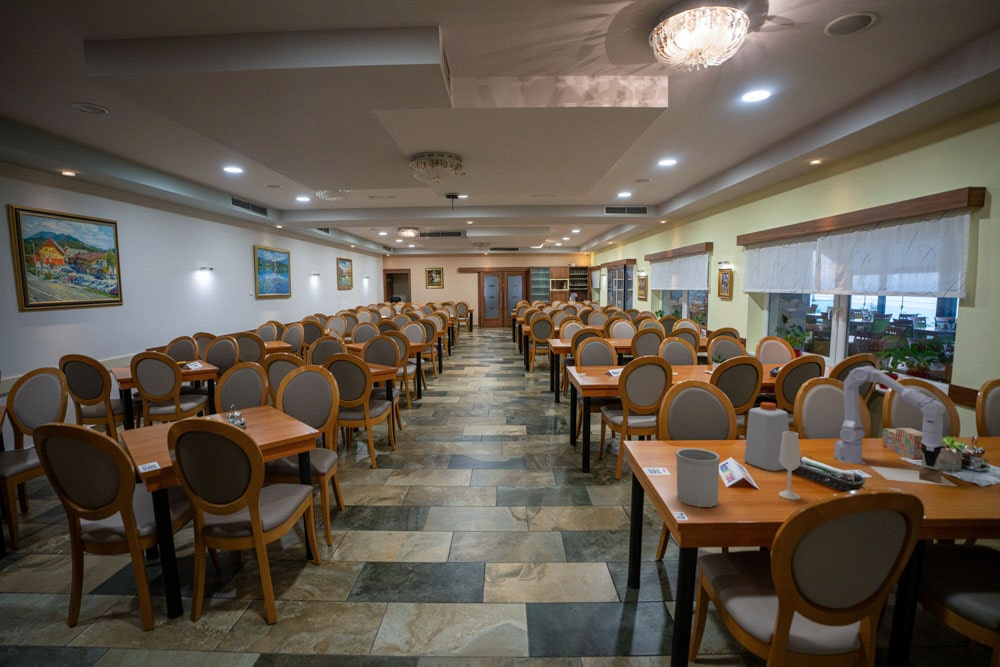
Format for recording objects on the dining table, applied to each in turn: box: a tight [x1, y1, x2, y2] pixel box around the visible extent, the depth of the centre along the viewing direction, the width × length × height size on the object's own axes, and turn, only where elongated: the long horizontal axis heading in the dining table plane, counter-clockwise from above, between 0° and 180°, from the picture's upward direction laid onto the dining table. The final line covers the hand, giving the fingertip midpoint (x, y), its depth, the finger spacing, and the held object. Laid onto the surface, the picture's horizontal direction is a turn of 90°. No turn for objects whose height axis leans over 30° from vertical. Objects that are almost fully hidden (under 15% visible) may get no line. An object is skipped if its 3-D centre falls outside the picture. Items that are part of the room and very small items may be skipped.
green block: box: [921, 454, 940, 470], centre depth 172 cm, size 5×5×5 cm
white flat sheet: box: [869, 466, 958, 487], centre depth 177 cm, size 22×15×1 cm
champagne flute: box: [778, 430, 802, 500], centre depth 161 cm, size 7×7×24 cm
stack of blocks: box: [882, 427, 923, 461], centre depth 203 cm, size 21×6×12 cm, turn 168°
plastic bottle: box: [744, 401, 790, 472], centre depth 192 cm, size 15×15×28 cm
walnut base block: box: [918, 464, 943, 485], centre depth 173 cm, size 6×6×4 cm
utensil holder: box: [675, 447, 721, 508], centre depth 159 cm, size 15×15×18 cm
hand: (930, 464), depth 172 cm, fingers closed on green block, 5 cm apart
